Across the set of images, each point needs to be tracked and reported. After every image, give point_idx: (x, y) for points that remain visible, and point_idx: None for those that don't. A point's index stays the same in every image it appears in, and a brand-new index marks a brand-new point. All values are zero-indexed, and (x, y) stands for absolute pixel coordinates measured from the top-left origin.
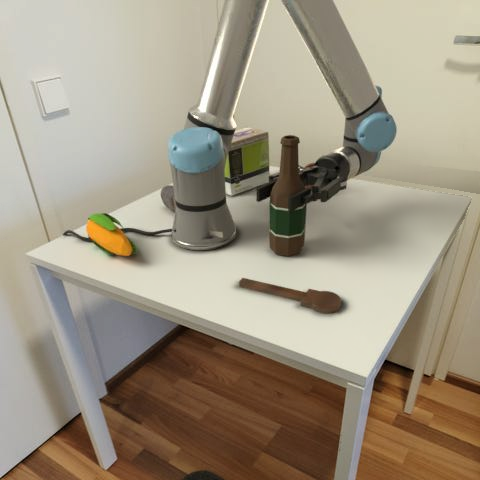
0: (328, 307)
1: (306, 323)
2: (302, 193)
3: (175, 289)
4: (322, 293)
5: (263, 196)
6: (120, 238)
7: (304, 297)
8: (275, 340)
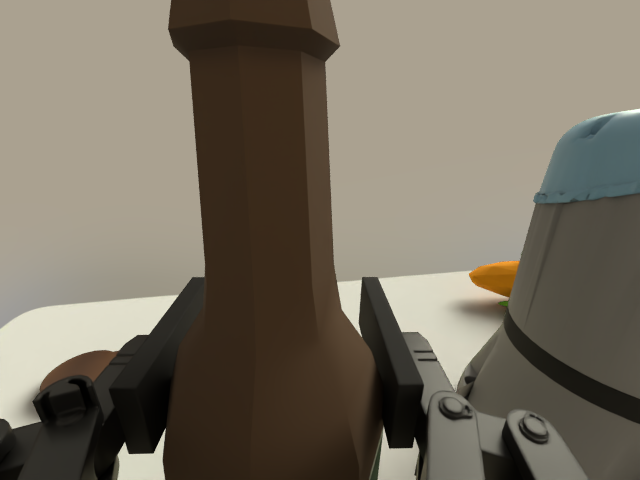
0: (75, 357)
1: (123, 333)
2: (157, 326)
3: (357, 297)
4: None
5: (363, 327)
6: (501, 264)
7: None
8: (164, 297)
